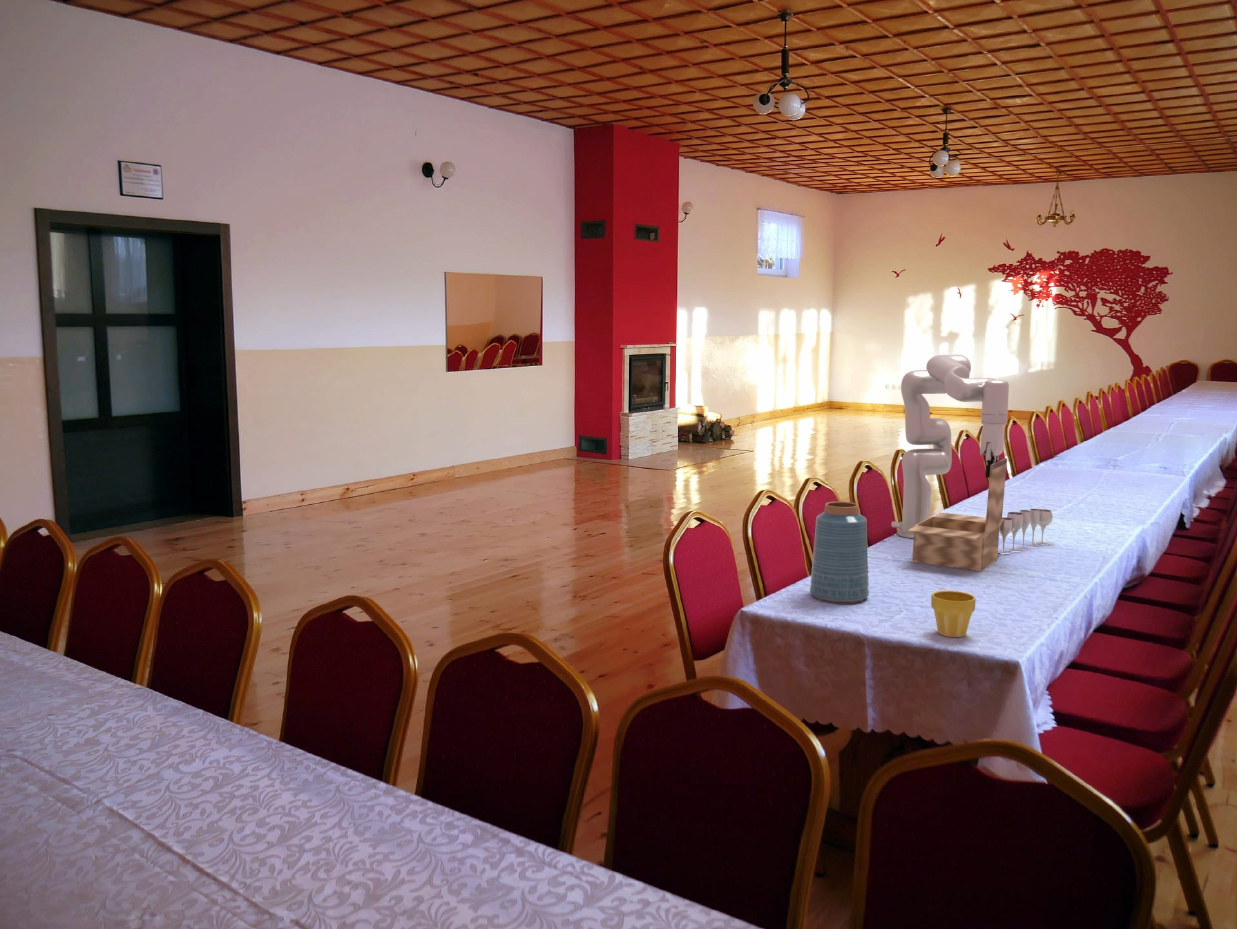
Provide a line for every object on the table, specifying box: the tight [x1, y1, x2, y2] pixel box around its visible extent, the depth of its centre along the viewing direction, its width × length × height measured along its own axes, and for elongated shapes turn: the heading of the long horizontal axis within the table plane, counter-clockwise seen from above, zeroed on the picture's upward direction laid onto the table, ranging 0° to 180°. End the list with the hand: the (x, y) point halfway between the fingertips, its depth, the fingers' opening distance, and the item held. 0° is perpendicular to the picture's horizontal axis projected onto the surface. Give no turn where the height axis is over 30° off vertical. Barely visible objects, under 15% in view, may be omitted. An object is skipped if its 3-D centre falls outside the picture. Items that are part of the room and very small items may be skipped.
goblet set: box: [998, 508, 1054, 553], centre depth 330 cm, size 28×6×13 cm, turn 125°
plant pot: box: [930, 590, 977, 638], centre depth 242 cm, size 10×10×10 cm
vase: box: [809, 500, 870, 605], centre depth 273 cm, size 16×16×27 cm
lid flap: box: [985, 457, 1008, 534], centre depth 305 cm, size 22×18×1 cm
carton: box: [908, 512, 1004, 572], centre depth 314 cm, size 22×34×12 cm, turn 145°
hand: (991, 477), depth 305 cm, fingers closed
